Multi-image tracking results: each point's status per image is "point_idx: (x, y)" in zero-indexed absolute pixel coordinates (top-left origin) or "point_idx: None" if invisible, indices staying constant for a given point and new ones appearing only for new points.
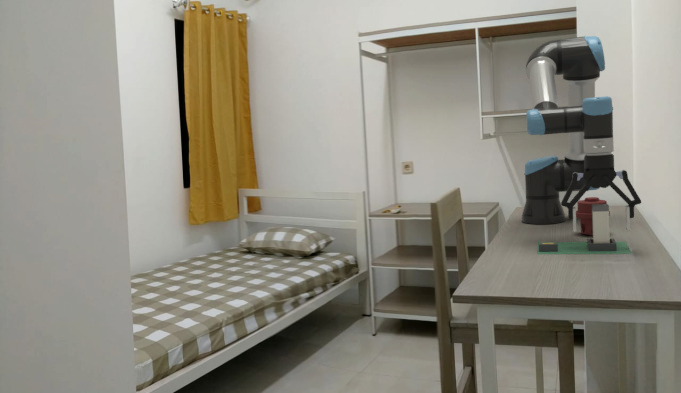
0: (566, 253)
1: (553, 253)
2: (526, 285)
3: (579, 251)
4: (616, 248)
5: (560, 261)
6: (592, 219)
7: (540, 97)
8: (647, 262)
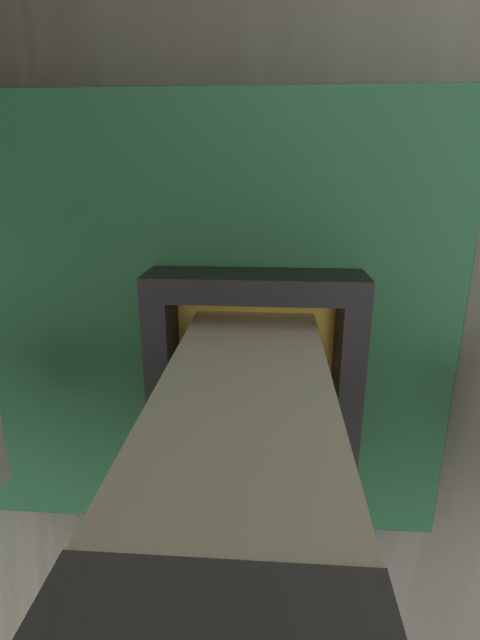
0: (28, 499)
1: None
2: None
3: (104, 451)
4: None
5: (21, 571)
6: (131, 439)
7: None
8: (471, 620)
